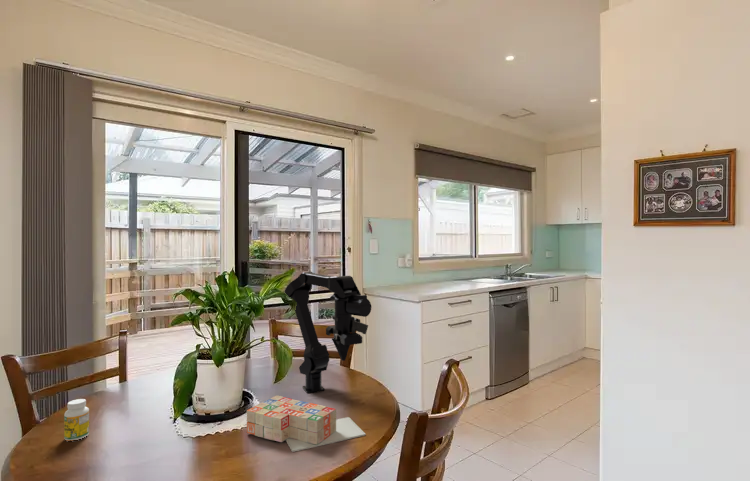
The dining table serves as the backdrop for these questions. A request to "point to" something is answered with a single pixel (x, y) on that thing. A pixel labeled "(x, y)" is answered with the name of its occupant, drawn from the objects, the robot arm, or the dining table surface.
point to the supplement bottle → (76, 420)
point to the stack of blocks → (291, 420)
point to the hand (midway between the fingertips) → (343, 360)
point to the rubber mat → (343, 432)
